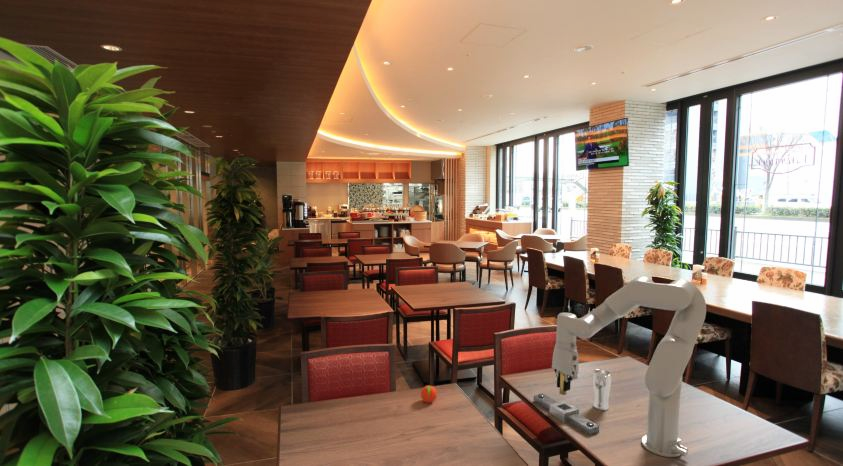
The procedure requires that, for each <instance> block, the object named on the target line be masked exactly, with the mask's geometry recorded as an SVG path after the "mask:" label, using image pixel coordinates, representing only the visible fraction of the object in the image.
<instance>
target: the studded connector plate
mask: <svg viewBox="0 0 843 466" xmlns="http://www.w3.org/2000/svg"><path fill="white" fill-rule="evenodd" d="M533 402H535V403H536V404H538V405H539V406H541V407H542V408H544V409H546V410H547V411H549V414H550V415H552V416H553V417H555V418H556V419H557V420H559V421H561V422H563V423H566V422H567V423H568V424H570V425H572V426H573V425H574V427H576V428H577V429H578V430H580V431H582V433H585V434H586V433H587V434H586V435H589V436H591V435H595V434H597V433H600V425H598V424H597V423H595V422H593V421H592V420H590V419H588V418H586V417H585V416H583V415H581V414H580V408H579V407H576V406H575V405H573V404H571V403H570V402H568V401H566V400H562V401H557V400H555V399H553V398H552V397H550V396H549V395H547V394H545V393H539V394H536V395H533Z"/></svg>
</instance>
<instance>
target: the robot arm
mask: <svg viewBox="0 0 843 466" xmlns="http://www.w3.org/2000/svg"><path fill="white" fill-rule="evenodd" d="M639 307H645V308H651V309H657V310H658V309H659V310H664V311H673V312H674V311H675V312H674V316H673V318H672V320H671V322H670V325H669V327H668V330H667V332H666V333H665V335H664V337H662V338H661V340H660V341H659V343H658V344H657V346H656V348H655V350H654V352H653V355H652V357H651V359H650V362H649V364H648V367H647V369H646V371H645V373H644V379H643V381H644V384H645V387H646V389H647V390H648V401H647V402H648V403H647V404H648V405H647V422H646V423H647V425H646V426H647V427H646V434H645V435H643V436H642V438H641V445H642V446H643V448H645V449H646V450H647V451H649V452H650V453H652V454H655V455H657V456H662V457H667V458H675V457H680V456H682V457H684V458H687V457H688V455H689V454H688V451H689V448H688V447H686V446H684V445H682V444H681V443H682V439H680V438H679V426H680V425H679V422H680V407H681V406H680V405H681V394H682V385H683V374H684V372H685V370H686V368H687V365H688V364H689V361H690V360H691V357H692V355H693V350H694V347H695V344H696V342H697V341H698V340H697V339H698V337H699V335H700V333H701V330H702V327H703V325H704V322H705V320H706V315H707V302H706V300H705V296H704V295H703V292H702V291H701V290H700V289H699V288H698V287H697V286H696V284H694V283H693V282H691V281H689V280H686V279H676V280H674V281H671V282H670V283H660V282H659V283H658V282H654V281H653V280H652V279H651V278H649V277H647V276H636V277H635V278H633V279H631V280H630V281H629V282H628V283H626V284H624V285H623V286H622V287H621V288H619V289H617V290H616V291H615V292H614V293H612V294H611V295H609V296H608V297H607V298H605V300H604V301H603V302H602V303H601V304H600V305H598V306H596V307H595V308H593V310H591V311H590V312H588V313H586V314H585V315H584V316H582V317H580V318H579V317H577V315H576V314H574V313H572V312H559V314H557V316H556V317H557V318H556V331H555V332H556V335H555V345H554V346H553V347H554V349H553V354H552V360H551V361H552V365H551V368H552V369H553V370H554V373H555V376H556V387H557V388H559V389H560V372H562V373H564V374H565V381H564V384H563V391H567V392H568V391H570V390H571V382H572V381H574V380H578V379H579V377H578V376H579V375H578V374H579V368H580V367H579V354H578V350H577V349H578V346H577V338H579V339H584V340H587V339H590V338H591V337H593V336H595V334H597V333H598V332H599V331H601V330H602V329H604V328H605V327H606V326H608V325H609V324H611V323H612V322H614V321H616V320H618V319H622V318H623V317H626V316H627V315H628V314H629V313H632V312H633V311H634V310H636V309H637V308H639Z"/></svg>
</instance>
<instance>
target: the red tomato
mask: <svg viewBox="0 0 843 466" xmlns="http://www.w3.org/2000/svg"><path fill="white" fill-rule="evenodd" d="M420 396H421V399H422V401H424V402H425V403H427V404H429V403H433V402H435V400H436V399H437V397H438V392H437V389H436V388H435V387H434V386H432V385H425V386H424V387H423V388H422V389H421V392H420Z"/></svg>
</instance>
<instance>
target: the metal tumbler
mask: <svg viewBox="0 0 843 466" xmlns="http://www.w3.org/2000/svg"><path fill="white" fill-rule="evenodd" d="M592 387H593V394H594V400H593V404H592V406H593V408H595V409H597V410H599V411H608V410H609V409H610V405H609V396H610V393H611V389H612V373H611V371H609V370H605V369H601V368H597V369H594V370H593V377H592Z"/></svg>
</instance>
